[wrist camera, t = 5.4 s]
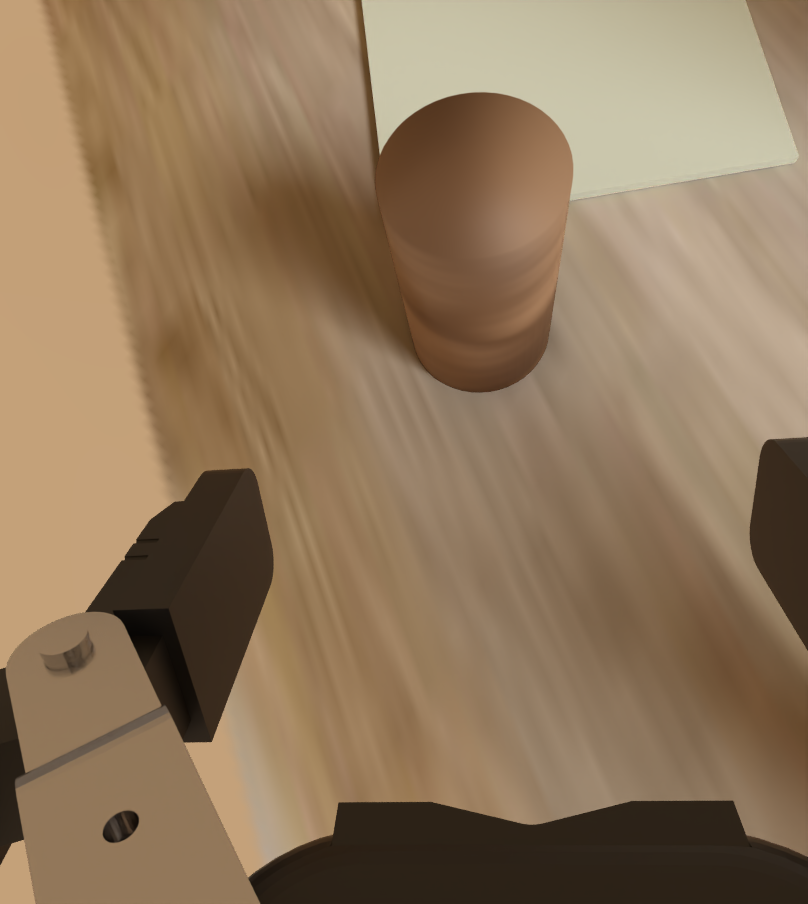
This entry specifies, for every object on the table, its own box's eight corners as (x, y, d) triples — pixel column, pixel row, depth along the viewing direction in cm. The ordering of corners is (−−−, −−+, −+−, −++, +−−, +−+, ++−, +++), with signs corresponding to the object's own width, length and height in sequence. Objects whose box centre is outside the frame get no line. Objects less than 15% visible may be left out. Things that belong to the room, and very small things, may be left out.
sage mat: (708, -92, 32) (710, -101, 32) (794, 163, 28) (798, 156, 27) (359, -23, 33) (358, -31, 33) (389, 231, 29) (388, 225, 29)
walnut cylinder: (536, 259, 28) (554, 76, 19) (560, 381, 26) (590, 239, 18) (405, 281, 28) (366, 110, 20) (420, 401, 27) (385, 273, 18)
